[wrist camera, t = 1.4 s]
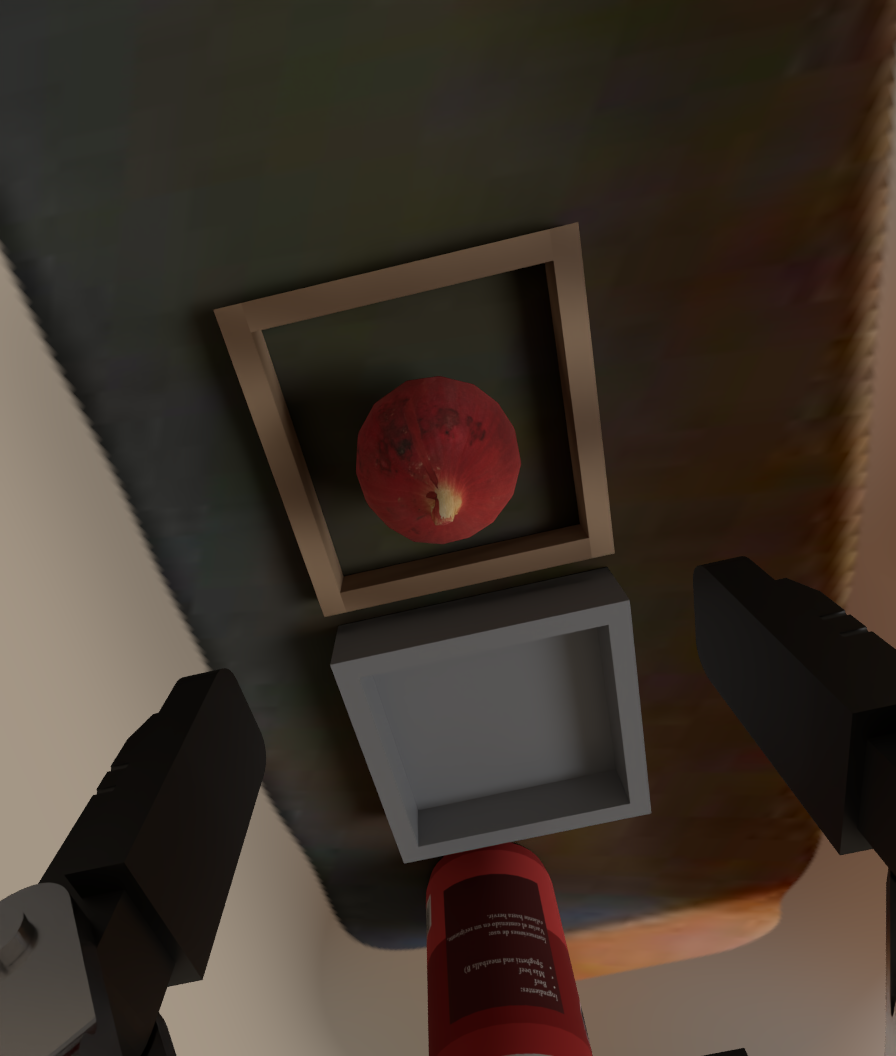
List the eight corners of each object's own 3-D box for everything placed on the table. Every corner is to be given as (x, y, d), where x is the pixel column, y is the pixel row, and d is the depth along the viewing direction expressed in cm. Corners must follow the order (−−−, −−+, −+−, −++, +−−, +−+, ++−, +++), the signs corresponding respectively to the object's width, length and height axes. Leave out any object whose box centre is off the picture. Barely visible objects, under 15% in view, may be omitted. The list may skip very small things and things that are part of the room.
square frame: (225, 307, 21) (213, 309, 20) (567, 225, 21) (578, 222, 20) (328, 599, 27) (324, 617, 25) (604, 538, 26) (614, 553, 25)
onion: (334, 418, 23) (300, 483, 16) (450, 332, 22) (469, 359, 15) (419, 524, 25) (422, 623, 18) (528, 450, 24) (578, 524, 17)
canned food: (479, 937, 38) (504, 1179, 27) (397, 878, 35) (392, 1123, 25) (575, 882, 36) (638, 1118, 26) (497, 816, 33) (534, 1051, 23)
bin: (338, 626, 27) (330, 664, 25) (607, 567, 27) (629, 600, 24) (404, 814, 33) (404, 863, 30) (630, 767, 32) (651, 813, 29)
